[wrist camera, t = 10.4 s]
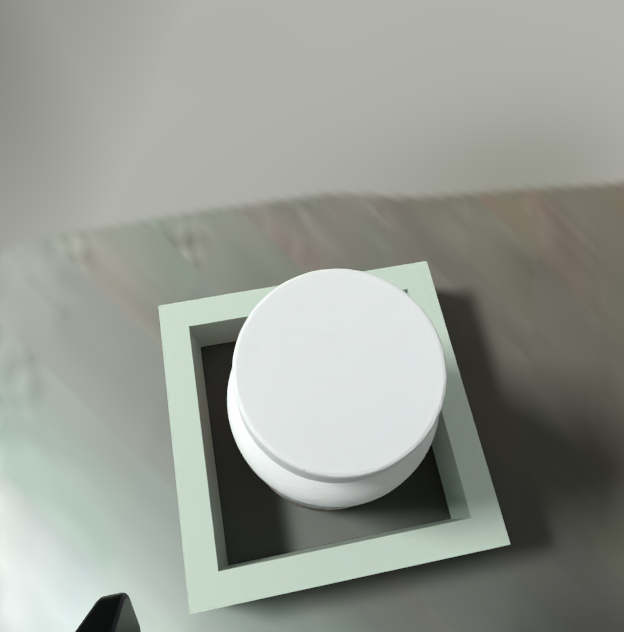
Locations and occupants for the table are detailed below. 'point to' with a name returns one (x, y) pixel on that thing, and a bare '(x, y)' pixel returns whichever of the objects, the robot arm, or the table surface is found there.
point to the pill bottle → (336, 388)
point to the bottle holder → (333, 559)
